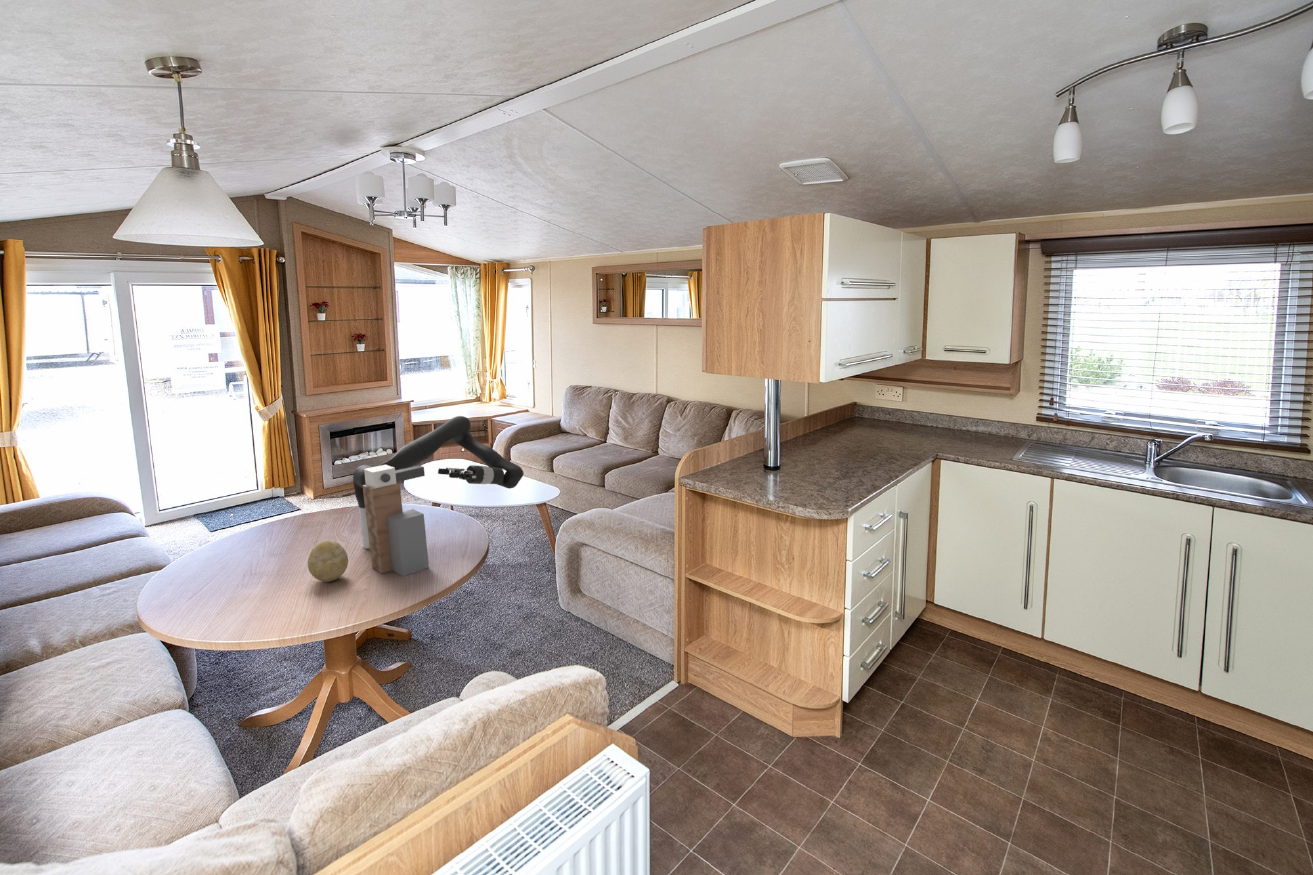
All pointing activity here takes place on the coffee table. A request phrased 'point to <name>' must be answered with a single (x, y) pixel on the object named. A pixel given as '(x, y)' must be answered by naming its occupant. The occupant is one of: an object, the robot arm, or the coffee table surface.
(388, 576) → the coffee table surface
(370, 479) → the action camera
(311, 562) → the fossilized egg
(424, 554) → the grey rectangular block
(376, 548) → the walnut post
